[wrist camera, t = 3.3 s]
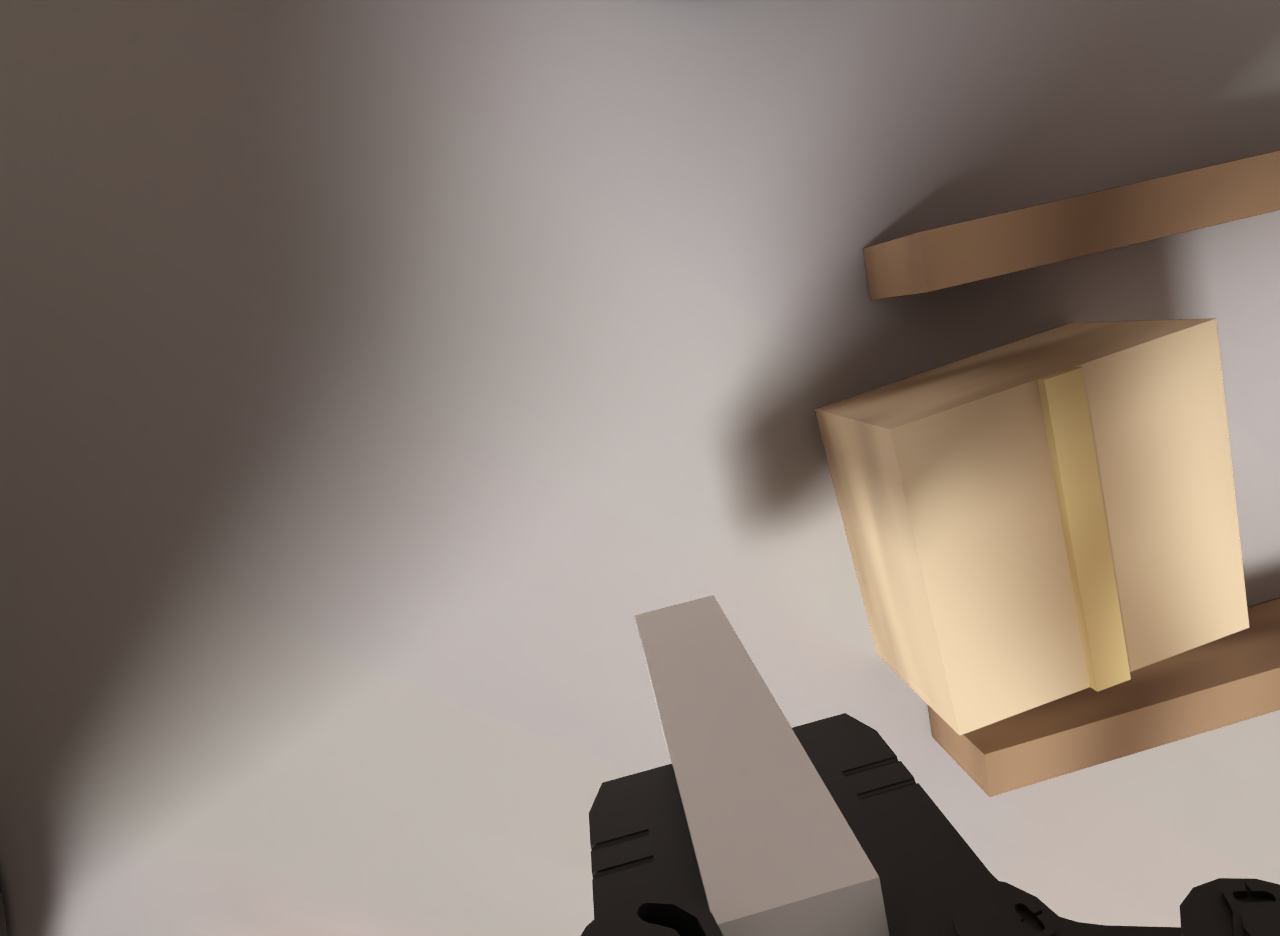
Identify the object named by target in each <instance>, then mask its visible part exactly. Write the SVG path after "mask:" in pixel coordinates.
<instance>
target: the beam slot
mask: <svg viewBox="0 0 1280 936" xmlns="http://www.w3.org/2000/svg"><path fill="white" fill-rule="evenodd" d="M1277 210H1280V151H1276V152H1271V153H1267V154H1263V155H1258V156H1254V157H1249V158H1245V159H1240V160H1236V161H1232V162H1227V163H1223V164H1218V165H1214V166H1209V167H1205V168H1201V169H1196V170H1192V171H1187V172H1183V173H1178V174H1174V175H1170V176H1165V177H1161V178H1156V179H1152V180H1147V181H1143V182H1139V183H1134V184H1130V185H1125V186H1121V187H1117V188H1112V189H1108V190H1103V191H1099V192H1094V193H1090V194H1086V195H1081V196H1077V197H1072V198H1068V199H1063V200H1059V201H1055V202H1050V203H1046V204H1041V205H1037V206H1032V207H1028V208H1024V209H1019V210H1015V211H1010V212H1006V213H1001V214H997V215H993V216H988V217H984V218H979V219H975V220H970V221H966V222H962V223H957V224H953V225H948V226H944V227H939V228H935V229H931V230H926V231H922V232H918V233H914V234H911V235H908V236H904V237H901V238H898V239H894V240H891V241H887V242H884V243H881V244H877V245H874V246H870V247H867V248H864V249H863V254H864V261H865V268H866V275H867V282H868V289H869V296H870V300H871V299H879V298H887V297H895V296H903V295H910V294H918V293H926V292H931V291H935V290H939V289H944V288H948V287H952V286H956V285H961V284H965V283H969V282H974V281H978V280H982V279H986V278H991V277H995V276H999V275H1003V274H1008V273H1012V272H1016V271H1021V270H1025V269H1029V268H1033V267H1038V266H1042V265H1046V264H1051V263H1055V262H1059V261H1063V260H1068V259H1072V258H1076V257H1080V256H1085V255H1089V254H1093V253H1098V252H1102V251H1106V250H1110V249H1115V248H1119V247H1123V246H1128V245H1132V244H1136V243H1140V242H1145V241H1149V240H1153V239H1157V238H1162V237H1166V236H1170V235H1175V234H1179V233H1183V232H1187V231H1192V230H1196V229H1200V228H1205V227H1209V226H1213V225H1217V224H1222V223H1226V222H1230V221H1234V220H1239V219H1243V218H1247V217H1252V216H1256V215H1260V214H1264V213H1269V212H1273V211H1277ZM1247 610H1248V619H1249V628H1247V629H1244V630H1241V631H1239V632H1236V633H1233V634H1231V635H1228V636H1225V637H1223V638H1220V639H1217V640H1215V641H1212V642H1209V643H1207V644H1204V645H1201V646H1199V647H1196V648H1193V649H1191V650H1188V651H1185V652H1183V653H1180V654H1177V655H1175V656H1172V657H1169V658H1166V659H1164V660H1161V661H1158V662H1156V663H1153V664H1150V665H1148V666H1145V667H1142V668H1140V669H1137V670H1134V671H1132V672H1130V676H1131V679H1130V680H1128V681H1125V682H1122V683H1120V684H1117V685H1114V686H1112V687H1109V688H1106V689H1104V690H1101V691H1098V692H1097V691H1095V690H1094V689H1092V688H1091V687H1089V688H1086V689H1083V690H1081V691H1078V692H1075V693H1073V694H1070V695H1067V696H1065V697H1062V698H1059V699H1057V700H1054V701H1051V702H1049V703H1046V704H1043V705H1041V706H1038V707H1035V708H1033V709H1030V710H1027V711H1025V712H1022V713H1019V714H1016V715H1014V716H1011V717H1008V718H1006V719H1003V720H1000V721H998V722H995V723H992V724H990V725H987V726H984V727H982V728H979V729H976V730H974V731H971V732H968V733H966V734H963V735H960V736H959V735H958V734H957V733H956V732H955V731H954V730H953V729H952V728H951V727H950V726H949V725H948V724H947V723H946V722H945V721H944V720H943V719H942V718H941V717H940V716H939V715H938V714H937V713H936V712H935V711H934V710H933V709H932V708H931V707H930V706H929V705H928V710H929V717H930V724H931V731H932V737H933V738H934V739H935V740H936V741H937V742H938V743H939V744H940V745H941V746H942V748H943V749H944V750H945V751H946V752H947V753H948V754H949V755H950V756H951V757H952V758H953V759H954V760H955V761H956V762H957V763H958V764H959V765H960V766H961V768H962V769H963V770H964V771H965V772H966V773H967V774H968V775H969V776H970V777H971V778H972V779H973V780H974V781H975V782H976V783H977V784H978V785H979V786H980V787H981V789H982V790H983V791H984V792H985V793H986V794H987V795H988V796H989V797H991V796H994V795H998V794H1001V793H1004V792H1008V791H1011V790H1014V789H1017V788H1021V787H1024V786H1027V785H1031V784H1034V783H1037V782H1041V781H1044V780H1047V779H1051V778H1054V777H1057V776H1061V775H1064V774H1067V773H1071V772H1074V771H1077V770H1081V769H1084V768H1087V767H1091V766H1094V765H1097V764H1101V763H1104V762H1107V761H1111V760H1114V759H1117V758H1121V757H1124V756H1127V755H1131V754H1134V753H1137V752H1141V751H1144V750H1147V749H1151V748H1154V747H1157V746H1160V745H1164V744H1167V743H1170V742H1174V741H1177V740H1180V739H1184V738H1187V737H1190V736H1194V735H1197V734H1200V733H1204V732H1207V731H1210V730H1214V729H1217V728H1220V727H1224V726H1227V725H1230V724H1234V723H1237V722H1240V721H1244V720H1247V719H1250V718H1254V717H1257V716H1260V715H1264V714H1267V713H1270V712H1274V711H1277V710H1280V599H1276V600H1273V601H1269V602H1266V603H1262V604H1259V605H1255V606H1252V607H1248V608H1247Z"/></svg>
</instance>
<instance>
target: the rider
mask: <svg viewBox="0 0 1280 936" xmlns="http://www.w3.org/2000/svg"><path fill="white" fill-rule="evenodd" d="M815 413H816V417H817V421H818V425H819V429H820V433H821V437H822V440H823V444H824V448H825V452H826V456H827V460H828V464H829V468H830V472H831V476H832V480H833V484H834V488H835V492H836V496H837V500H838V504H839V507H840V511H841V515H842V519H843V523H844V527H845V531H846V535H847V539H848V543H849V547H850V551H851V555H852V559H853V563H854V567H855V570H856V574H857V578H858V582H859V586H860V590H861V594H862V598H863V602H864V606H865V610H866V614H867V618H868V622H869V626H870V630H871V634H872V637H873V641H874V645H875V649H876V653H877V655H878V656H879V657H880V658H881V659H882V660H883V661H884V662H885V663H886V664H887V665H888V666H889V667H890V668H891V669H892V670H893V671H894V672H895V673H896V674H897V675H898V676H899V677H900V678H901V679H902V680H903V681H904V682H905V683H906V684H908V685H909V686H910V687H911V688H912V689H913V690H914V691H915V692H916V693H917V694H918V695H919V696H920V697H921V698H922V699H923V700H924V701H925V702H926V703H927V704H928V705H929V706H930V707H931V708H932V709H933V710H934V711H935V712H936V713H937V714H938V715H939V716H940V717H941V718H942V719H943V720H944V721H945V722H946V723H947V724H948V725H949V726H950V727H951V728H952V729H953V730H954V731H955V732H956V733H957V734H958V735H959V736H960V735H963V734H966V733H968V732H971V731H974V730H976V729H979V728H982V727H984V726H987V725H990V724H992V723H995V722H998V721H1000V720H1003V719H1006V718H1008V717H1011V716H1014V715H1016V714H1019V713H1022V712H1025V711H1027V710H1030V709H1033V708H1035V707H1038V706H1041V705H1043V704H1046V703H1049V702H1051V701H1054V700H1057V699H1059V698H1062V697H1065V696H1067V695H1070V694H1073V693H1075V692H1078V691H1081V690H1083V689H1086V688H1089V687H1091V688H1092V689H1094V690H1095V691H1097V692H1098V691H1101V690H1104V689H1106V688H1109V687H1112V686H1114V685H1117V684H1120V683H1122V682H1125V681H1128V680H1130V679H1131V676H1130V672H1132V671H1134V670H1137V669H1140V668H1142V667H1145V666H1148V665H1150V664H1153V663H1156V662H1158V661H1161V660H1164V659H1166V658H1169V657H1172V656H1175V655H1177V654H1180V653H1183V652H1185V651H1188V650H1191V649H1193V648H1196V647H1199V646H1201V645H1204V644H1207V643H1209V642H1212V641H1215V640H1217V639H1220V638H1223V637H1225V636H1228V635H1231V634H1233V633H1236V632H1239V631H1241V630H1244V629H1247V628H1249V619H1248V610H1247V600H1246V591H1245V582H1244V572H1243V563H1242V554H1241V545H1240V535H1239V526H1238V517H1237V507H1236V498H1235V489H1234V479H1233V470H1232V461H1231V452H1230V442H1229V433H1228V424H1227V414H1226V405H1225V396H1224V387H1223V377H1222V368H1221V359H1220V349H1219V340H1218V331H1217V322H1216V318H1213V319H1180V320H1148V321H1115V322H1082V323H1069V324H1066V325H1063V326H1060V327H1057V328H1054V329H1051V330H1048V331H1045V332H1042V333H1039V334H1036V335H1033V336H1030V337H1027V338H1024V339H1022V340H1019V341H1016V342H1013V343H1010V344H1007V345H1004V346H1001V347H998V348H995V349H992V350H989V351H986V352H983V353H980V354H977V355H974V356H971V357H968V358H965V359H962V360H959V361H956V362H953V363H950V364H947V365H944V366H941V367H938V368H935V369H932V370H930V371H927V372H924V373H921V374H918V375H915V376H912V377H909V378H906V379H903V380H900V381H897V382H894V383H891V384H888V385H885V386H882V387H879V388H876V389H873V390H870V391H867V392H864V393H861V394H858V395H855V396H852V397H849V398H846V399H843V400H840V401H837V402H835V403H832V404H829V405H826V406H823V407H820V408H817V409H815Z"/></svg>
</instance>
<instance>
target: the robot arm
mask: <svg viewBox="0 0 1280 936" xmlns="http://www.w3.org/2000/svg"><path fill="white" fill-rule="evenodd" d="M635 619H636V623H637V627H638V631H639V635H640V639H641V643H642V647H643V652H644V656H645V660H646V664H647V668H648V672H649V676H650V680H651V684H652V689H653V693H654V697H655V701H656V705H657V709H658V713H659V717H660V721H661V726H662V730H663V734H664V738H665V742H666V746H667V750H668V754H669V758H670V762H671V764H669V765H665V766H662V767H658V768H655V769H651V770H647V771H644V772H640V773H636V774H633V775H629V776H626V777H622V778H618V779H615V780H611V781H607V782H604V783H602V785H601V787H600V789H599V792H598V794H597V796H596V798H595V801H594V803H593V805H592V808H591V810H590V812H589V823H590V843H591V849H592V851H591V862H592V874H593V880H592V882H593V901H594V920H593V921H592V922H591V923H590V924H589V925H588V926H587V927H586V928H585V930H584V931H583V933H582V935H581V936H1280V885H1279V884H1274V883H1270V882H1266V881H1262V880H1258V879H1227V878H1219V879H1216V880H1214V881H1211V882H1208V883H1205V884H1202V885H1200V886H1197V887H1194V888H1193V889H1192V890H1191V891H1190V893H1189V894H1188V896H1187V897H1186V898H1185V900H1184V901H1183V902H1182V904H1181V905H1180V917H1181V928H1176V927H1138V926H1104V925H1096V924H1088V923H1079V922H1075V921H1072V920H1068V919H1065V918H1062V917H1059V916H1057V915H1056V914H1055V913H1054V912H1053V911H1052V910H1051V909H1049V908H1048V907H1047V906H1046V905H1045V904H1044V903H1043V902H1041V901H1040V900H1039V899H1038V898H1037V897H1035V896H1033V895H1031V894H1029V893H1027V892H1025V891H1023V890H1020V889H1018V888H1016V887H1014V886H1012V885H1010V884H1008V883H1006V882H1001V881H998V880H997V879H996V878H995V877H994V876H993V875H992V874H991V873H990V872H989V871H988V869H987V868H986V867H985V866H984V864H983V863H982V862H981V861H980V859H979V858H978V857H977V856H976V854H975V853H974V852H973V851H972V849H971V848H970V847H969V846H968V844H967V843H966V842H965V841H964V839H963V838H962V837H961V836H960V834H959V833H958V832H957V831H956V830H955V828H954V827H953V826H952V825H951V823H950V822H949V821H948V820H947V818H946V817H945V816H944V815H943V813H942V812H941V811H940V810H939V808H938V807H937V806H936V805H935V803H934V802H933V801H932V800H931V798H930V797H929V796H928V795H927V793H926V792H925V791H924V790H923V788H922V787H921V786H920V785H919V783H918V784H916V782H915V780H914V777H913V776H912V775H911V773H910V772H909V771H908V770H907V768H906V767H905V766H904V765H903V763H902V762H901V761H898V759H897V756H896V755H895V754H894V752H893V751H892V750H891V749H890V747H889V746H888V745H887V744H886V742H885V741H884V740H883V739H882V737H881V736H880V735H879V734H878V732H877V731H876V730H874V729H872V728H871V727H869V726H867V725H865V724H863V723H862V722H860V721H858V720H856V719H855V718H853V717H851V716H849V715H847V714H846V713H844V714H841V715H837V716H833V717H830V718H826V719H822V720H819V721H815V722H812V723H808V724H804V725H801V726H797V727H793V728H791V726H790V725H789V723H788V721H787V719H786V718H785V716H784V714H783V713H782V711H781V709H780V708H779V706H778V704H777V702H776V701H775V699H774V697H773V696H772V694H771V692H770V691H769V689H768V687H767V685H766V684H765V682H764V680H763V679H762V677H761V675H760V674H759V672H758V670H757V668H756V667H755V665H754V663H753V662H752V660H751V658H750V657H749V655H748V653H747V652H746V650H745V648H744V646H743V645H742V643H741V641H740V640H739V638H738V636H737V635H736V633H735V631H734V629H733V628H732V626H731V624H730V623H729V621H728V619H727V618H726V616H725V614H724V612H723V611H722V609H721V607H720V606H719V604H718V602H717V601H716V599H715V597H714V595H713V596H709V597H705V598H701V599H697V600H693V601H689V602H686V603H682V604H678V605H674V606H670V607H666V608H662V609H659V610H655V611H651V612H647V613H643V614H639V615H636V616H635ZM0 936H7V927H6V917H5V911H4V904H3V899H2V895H1V891H0Z"/></svg>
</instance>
